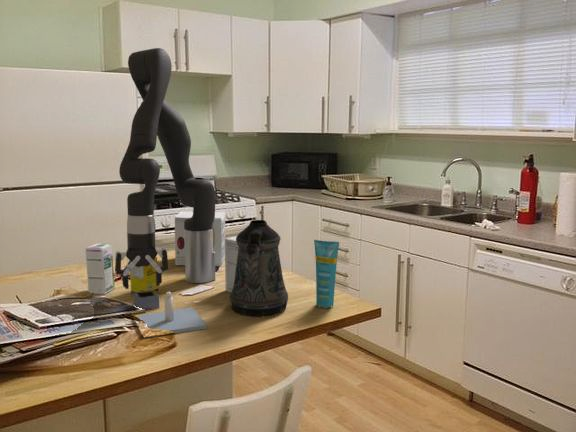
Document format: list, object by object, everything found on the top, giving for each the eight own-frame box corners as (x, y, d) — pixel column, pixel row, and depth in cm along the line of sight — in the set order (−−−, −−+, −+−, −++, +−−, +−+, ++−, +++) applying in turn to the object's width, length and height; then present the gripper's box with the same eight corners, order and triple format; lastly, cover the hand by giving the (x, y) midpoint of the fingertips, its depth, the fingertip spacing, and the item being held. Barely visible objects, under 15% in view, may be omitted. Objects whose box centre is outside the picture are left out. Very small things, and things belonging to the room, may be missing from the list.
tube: (310, 306, 155) (311, 241, 152) (314, 301, 160) (316, 237, 156) (336, 309, 153) (337, 243, 149) (339, 304, 157) (341, 239, 154)
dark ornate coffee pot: (276, 295, 165) (277, 214, 160) (300, 317, 147) (301, 226, 142) (223, 301, 159) (222, 217, 155) (241, 324, 141) (240, 230, 137)
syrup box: (105, 294, 164) (102, 248, 161) (87, 293, 165) (84, 246, 162) (115, 289, 169) (112, 243, 167) (97, 287, 170) (95, 242, 168)
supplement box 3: (267, 290, 169) (267, 238, 166) (245, 297, 163) (245, 242, 160) (246, 284, 176) (246, 233, 173) (224, 290, 169) (223, 237, 166)
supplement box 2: (174, 266, 196) (173, 217, 193) (181, 257, 209) (180, 210, 206) (222, 266, 196) (221, 217, 193) (226, 257, 209) (225, 211, 206)
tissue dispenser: (154, 301, 158) (154, 289, 158) (159, 308, 153) (159, 296, 152) (133, 304, 156) (132, 292, 155) (136, 311, 150) (136, 299, 150)
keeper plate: (192, 310, 151) (191, 281, 149) (207, 328, 138) (206, 296, 137) (133, 319, 144) (132, 288, 143) (143, 338, 132) (141, 305, 130)
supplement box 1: (158, 290, 168) (157, 256, 166) (146, 296, 163) (144, 261, 161) (143, 288, 171) (142, 254, 169) (130, 293, 165) (128, 258, 163)
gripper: (164, 226, 157) (165, 280, 159) (112, 229, 151) (114, 285, 154) (169, 231, 150) (170, 288, 153) (116, 234, 144) (117, 293, 147)
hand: (142, 286), depth 153 cm, fingers open, 8 cm apart
